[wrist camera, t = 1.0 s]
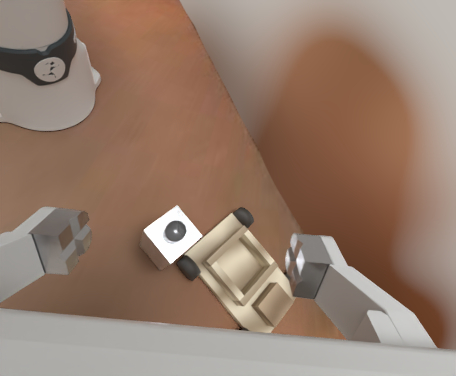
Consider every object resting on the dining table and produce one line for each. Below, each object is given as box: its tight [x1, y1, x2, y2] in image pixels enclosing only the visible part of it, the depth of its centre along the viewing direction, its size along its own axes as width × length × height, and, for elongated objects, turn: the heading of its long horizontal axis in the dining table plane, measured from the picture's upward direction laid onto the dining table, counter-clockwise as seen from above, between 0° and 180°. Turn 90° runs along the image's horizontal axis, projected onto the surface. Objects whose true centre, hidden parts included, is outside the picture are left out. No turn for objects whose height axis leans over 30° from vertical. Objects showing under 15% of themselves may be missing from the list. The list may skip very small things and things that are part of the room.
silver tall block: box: [140, 206, 202, 270], centre depth 34 cm, size 5×5×12 cm
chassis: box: [177, 207, 296, 333], centre depth 41 cm, size 18×14×4 cm
